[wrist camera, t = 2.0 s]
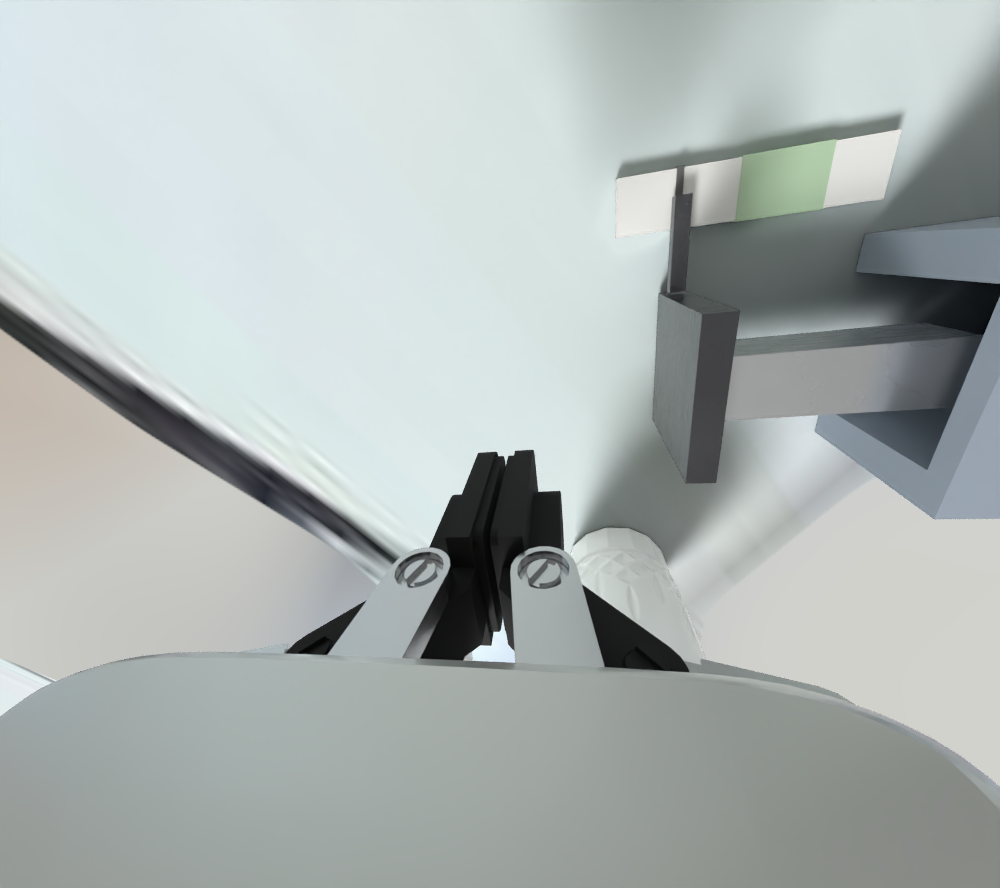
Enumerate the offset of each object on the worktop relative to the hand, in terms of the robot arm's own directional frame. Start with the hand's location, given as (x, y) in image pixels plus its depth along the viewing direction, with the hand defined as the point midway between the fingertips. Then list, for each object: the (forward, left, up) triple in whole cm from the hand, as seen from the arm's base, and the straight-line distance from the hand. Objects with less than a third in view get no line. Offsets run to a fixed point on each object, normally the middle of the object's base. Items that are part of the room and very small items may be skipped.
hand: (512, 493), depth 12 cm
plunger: (-12, -2, -12) cm, 17 cm away
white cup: (-4, +15, -13) cm, 20 cm away
